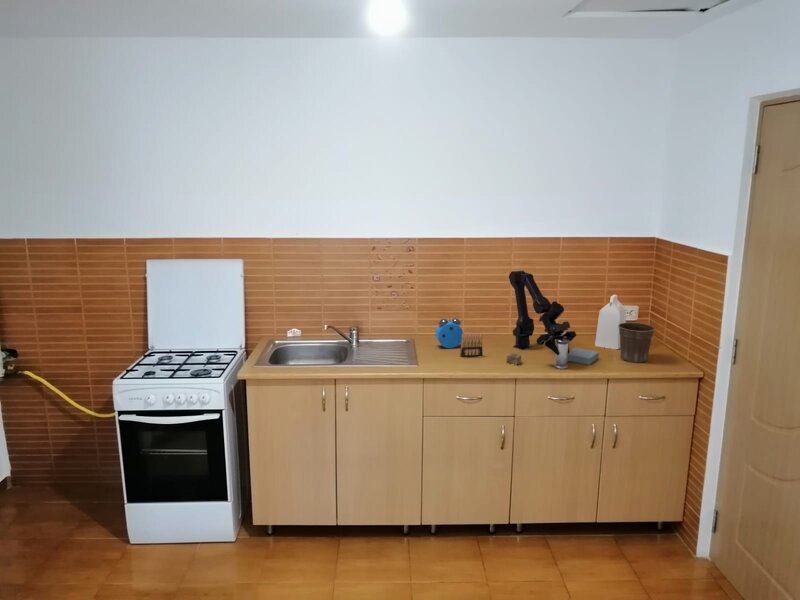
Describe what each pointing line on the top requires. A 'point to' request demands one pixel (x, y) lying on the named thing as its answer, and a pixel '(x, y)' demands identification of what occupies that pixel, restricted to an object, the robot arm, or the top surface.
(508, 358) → the offcut block
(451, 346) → the alarm clock
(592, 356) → the stand
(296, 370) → the top surface
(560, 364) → the glass shaker
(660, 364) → the top surface
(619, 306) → the milk
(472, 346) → the ammunition clip
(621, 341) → the plant pot
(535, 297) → the robot arm
